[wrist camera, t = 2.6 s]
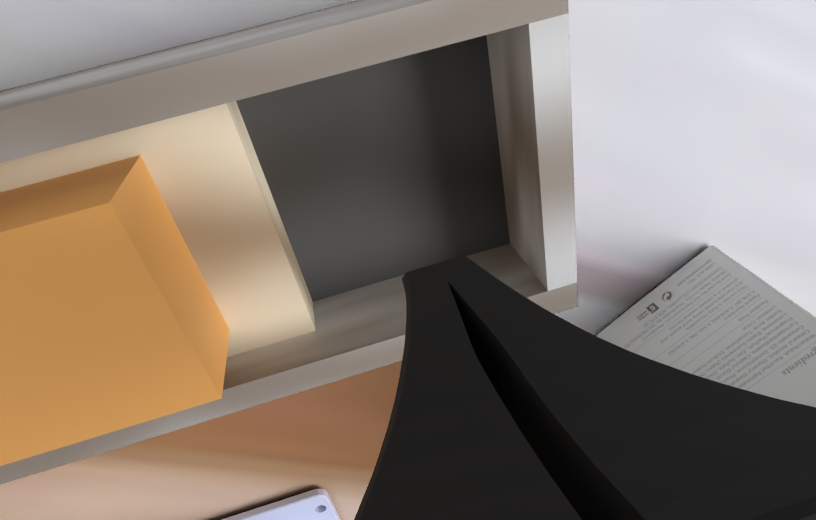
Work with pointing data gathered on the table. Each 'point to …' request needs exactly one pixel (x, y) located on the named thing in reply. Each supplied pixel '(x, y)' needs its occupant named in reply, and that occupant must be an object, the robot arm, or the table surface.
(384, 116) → the trap lane
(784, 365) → the small box
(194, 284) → the orange block
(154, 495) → the table surface
